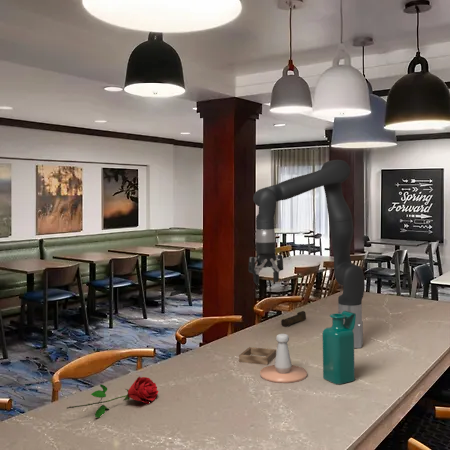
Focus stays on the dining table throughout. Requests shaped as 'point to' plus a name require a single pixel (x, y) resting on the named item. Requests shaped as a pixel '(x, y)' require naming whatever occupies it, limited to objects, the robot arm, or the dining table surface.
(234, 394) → the dining table surface
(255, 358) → the brown wooden square frame
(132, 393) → the flower
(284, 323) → the hand tool
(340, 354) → the pitcher
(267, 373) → the terracotta pad
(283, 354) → the salt shaker
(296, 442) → the dining table surface
